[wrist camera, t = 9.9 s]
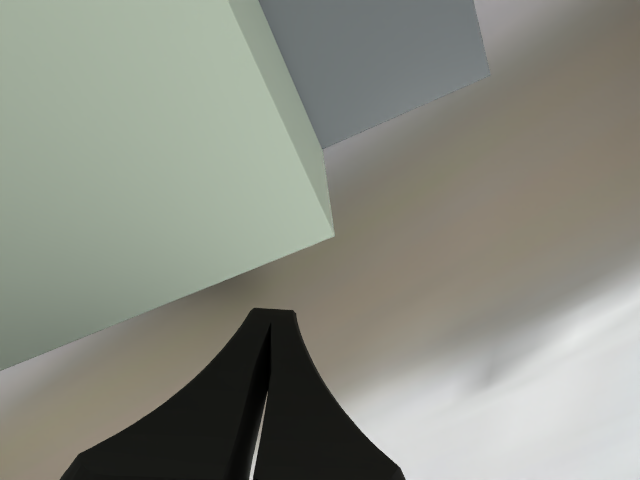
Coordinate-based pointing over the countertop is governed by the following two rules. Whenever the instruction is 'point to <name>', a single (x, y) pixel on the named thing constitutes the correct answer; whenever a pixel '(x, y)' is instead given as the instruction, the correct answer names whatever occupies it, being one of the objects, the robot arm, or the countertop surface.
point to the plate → (374, 57)
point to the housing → (143, 161)
